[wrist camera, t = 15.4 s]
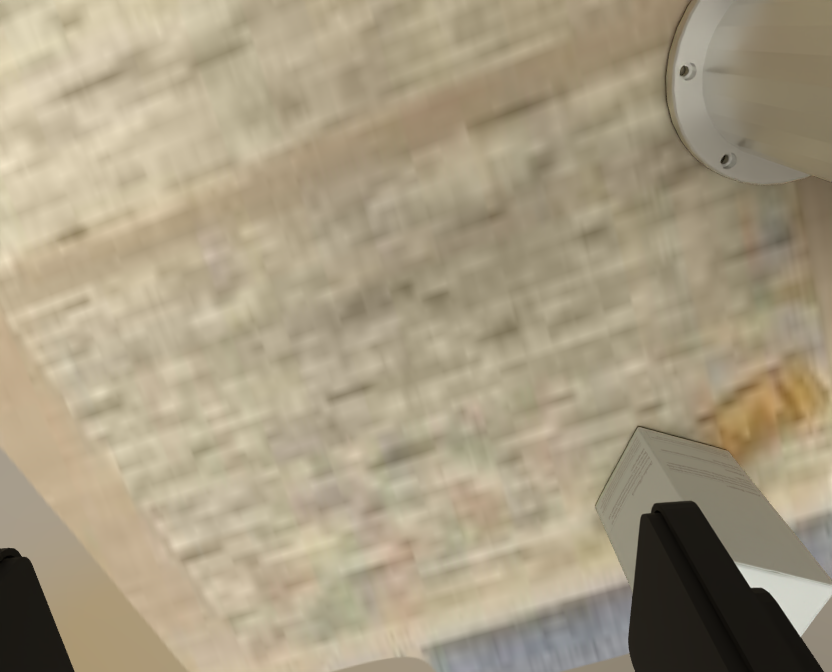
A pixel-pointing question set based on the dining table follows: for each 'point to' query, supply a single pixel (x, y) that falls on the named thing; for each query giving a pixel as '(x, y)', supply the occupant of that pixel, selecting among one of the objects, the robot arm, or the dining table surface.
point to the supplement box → (713, 517)
